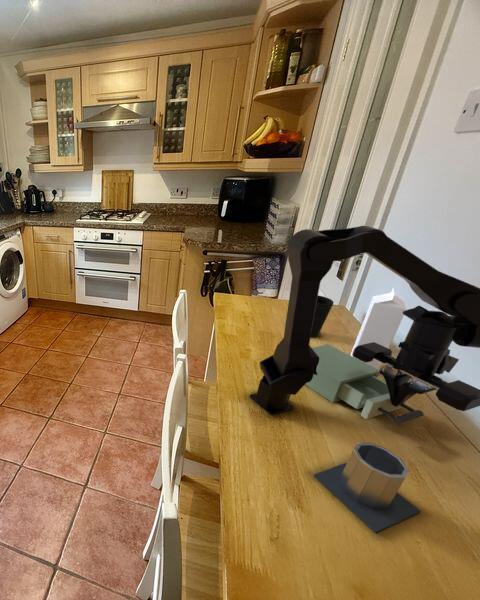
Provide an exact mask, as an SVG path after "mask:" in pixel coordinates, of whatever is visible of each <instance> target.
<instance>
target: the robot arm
mask: <svg viewBox="0 0 480 600" xmlns="http://www.w3.org/2000/svg"><path fill="white" fill-rule="evenodd" d="M362 254H366V255H367V256H369V257H370V258H372V260H374V261H376V262H377V263H379V264H381V265H382V266H383V267H385V268H386V269H388V270H389V271H391V272H392V273H394V274H396V275H397V276H398V277H400V278H401V279H403V280H404V281H405V282H406V283H407V284H408V285H409V287H410V289H411V291H413V293H414V294H415V295H416V296H417V297H418V298H419V299H420V300H421V301H423V302H424V303H425V304H427V305H429V306H432V307H434V308H435V309H436V310H429V309H427V308H425V307H423V306H422V305H416V306H415V307H413V308H409V309H406V311H403V314H404V316H406V317H407V318H408V319H410V320H412V323H411V325H410V327H409V330H408V332H407V334H406V337H405V338H404V341H400V342H399V343H398V346H397V347H398V348H400V350H399V352H398V353H397V356H396V357H394V356H392V354H393V350H392V349H390V348H389V349H388V348H386V347H384V346H382V345H379V344H377V343H375V342H372V343H368V344H363V345H359V346H357V347H356V348H355V349H354V351H353V354H352V355H353V357H355V358H357V359H359V360H361V361H363V362H365V363H366V362H371V361H373V358H374V359H376V360H378V361H380V362H382V364H383V368H382V369H380V370H379V371H380V372H379V375H381V376H383V379H384V381H385V382H386V384H387V387H388V391H389V395H390V399H391V404H392V405H393V406H395V407H397V406H400V405H401V404H402V403H404V402H405V401H406V402H407V401H408V400H409V399H411V398H412V397H413V396H416V395H417V394H418V395H423V394H427V393H430V392H435V391H436V392H435V396H436V398H437V399H438V401H439V402H441V403H444V404H445V405H447V406H449V407H451V408H453V409H455V410H457V411H462V412H466V411H469V410H473V409H475V408H478V407H480V388H477V387H475V386H473V385H471V384H469V383H467V382H464V381H462V380H460V379H458V380H454V381H450V382H447V381H445V380H443V378H441V377H440V375H443V374H444V373H445V372H446V373H449V374H450V372H452V370H453V368H454V367H455V366H456V365H457V364H458V363H459V361H460V359H459V358H457V357H455V356H452V355H450V354H451V349H449V348H450V347H451V344H452V342H453V343H454V344H455V345H457V346H460V347H467V348H476V349H477V348H478V349H480V287H478V286H476V285H473V284H471V283H468V282H466V281H463V280H462V279H460V278H459V279H458V278H456V277H454V276H451V275H449V274H447V273H444V272H443V271H442V272H441V271H440V270H437V269H436V268H435V267H433V266H432V265H430V264H429V263H427V262H426V261H424V260H423V259H422V258H420V257H418V256H417V255H415V254H414V253H413V252H411V251H410V250H408V249H407V248H405V247H404V246H402V245H401V244H400V243H398V242H396V241H395V240H393V239H392V238H391V237H389V236H388V235H387V234H386V233H385V231H383V230H381V229H378V228H375V227H372V226H369V225H360V226H359V225H358V226H353V227H349V228H348V227H347V228H346V227H345V228H333V229H332V228H331V229H323V230H315V229H311V228H306V229H301V230H299V231H297V232H295V233H294V234H293V235H292V236H290V237H289V239H288V242H287V260H288V265H289V268H290V272H291V273H290V274H291V283H290V289H289V292H290V293H289V298H288V304H287V311H286V318H285V324H284V331H283V338H282V339H281V340H280V341H279V342H278V343H277V345H276V347H275V349H274V352H273V354H272V355H270V356H268V357H266V358H265V359H262V360H261V361H259V367H260V370H261V372H262V374H263V375H262V378H261V379H260V380H259V383H258V387H257V391H256V392H255V393H251V394H250V395H249V398H250V399H251V400H252V401H254V403H256V404H257V405H258V406H259V407H260V408H261V409H263V410H264V411H265V412H266V413H268V414H269V415H270V416H275V415H278V414H281V413H284V412H289V411H292V410H294V406H293V405H292V404H290V403H289V401H290V399H291V395H292V396H296V395H297V394H298V393H299V392H300V391H301V389H302V388H303V387H304V386H306V385H305V384H306V383H307V382H310V381H311V380H312V378H313V374H315V375H317V372H316V368H317V365H318V363H319V357H318V355H317V354H316V353H315V352H314V350H313V349H312V348H313V347H311V345H310V342H311V338H312V337H311V331H312V326H313V320H314V315H315V309H316V304H317V298H318V295H319V293H320V286H321V282H322V280H323V279H324V278H325V276H327V274H328V273H329V272H330V271H331V269H332V266H333V265H334V262H336V261H344V260H348V259H351V258H354V257H356V256H359V255H362ZM436 374H437V375H439V376H437V375H436ZM406 402H405V403H406Z"/></svg>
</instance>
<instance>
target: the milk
mask: <svg viewBox="0 0 480 600" xmlns="http://www.w3.org/2000/svg"><path fill="white" fill-rule="evenodd" d="M406 310H407V307H406V303H405V301H404V300H403V299H401V298H399V296H396V293H395V288H394V287H392V288H391V291H390V292H387V293H383V294H377V295H373V296H372V298H371V301H370V303H369V305H368V309H367V312H366V314H365V317H364V318H363V321H362V325H361V327H360V329H359V331H358V333H357V337H356V339H355V342H354V344H353V347H352V350H351V353H350V354H349V355H350V356H352V357H353V355H352V354H353V351H354V349H355V348H356V347H357V346H359V345H363V344H368V343H372V342H375V343H377V344H379V345H382V346H384V347H386V348H388V349H390V347H391V345H392V344H393V343H392V342H393V340H394V338H395V336H396V334H397V332H398V329H399V328H400V325H401V323H402V320H403V318H404V316H405V315H404V314H403V311H406ZM354 358H355V357H354ZM356 359H357V358H356ZM358 360H359V359H358ZM360 361H361V360H360ZM362 362H363V361H362ZM364 363H365V362H364ZM366 364H367V365H369V366H371V367H373V368H375V369H377V370H379V371H380V370H381V368H382V365H383V363H382V362H380V361H378V360H376V359H374V358H373V361H371V362H366Z"/></svg>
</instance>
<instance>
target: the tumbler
mask: <svg viewBox="0 0 480 600" xmlns="http://www.w3.org/2000/svg"><path fill="white" fill-rule="evenodd" d="M346 463H347V464H346V466H345V468H344V470H343V473H342V475H341V477H340V479H339V480H340V483H341V485H342V487H343V489H344V491H345V492H346V493H347V494H349V495H350V496H351V497H352V498H353V499H354V500H355V501H357V502H358V503H360V504H363V505H365V506H367V507H369V508H371V509H374V510H386V509H388V507H389V505H390V503H391V502H392V500H393V498H394V496H395V495H396V493H398V491H399V490H400V488H401V486H402V485H403V483H404V481H405V479H406V477H407V476H408V474H409V472H410V469H409V467H408V466H407V464H406V463H405V461H404V460H403V459H402V458H401V457H399V456H398V455H397V454H395V453H394V452H392V451H391V450H389V449H388V448H386V447H383V446H380V445H377V444H375V443H373V442H357V443H356V445H355V446H354V447H353V449H352V451H351V453H350V455H349V457H348V459H347V462H346Z"/></svg>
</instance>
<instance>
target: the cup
mask: <svg viewBox="0 0 480 600" xmlns="http://www.w3.org/2000/svg"><path fill="white" fill-rule="evenodd" d="M334 303H335V302H334V301H333V300H332V299H331V298H329V297H327V296H323V295H319V294H318V298H317V304H316V309H315V315H314V320H313V326H312V331H311V337H310V338H318V336H319V335H320V333H321V330H322V328H323V326H324V324H325V322H326V320H327V318H328V316H329V314H330V311H331V310H332V307H333V306H334Z"/></svg>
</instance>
